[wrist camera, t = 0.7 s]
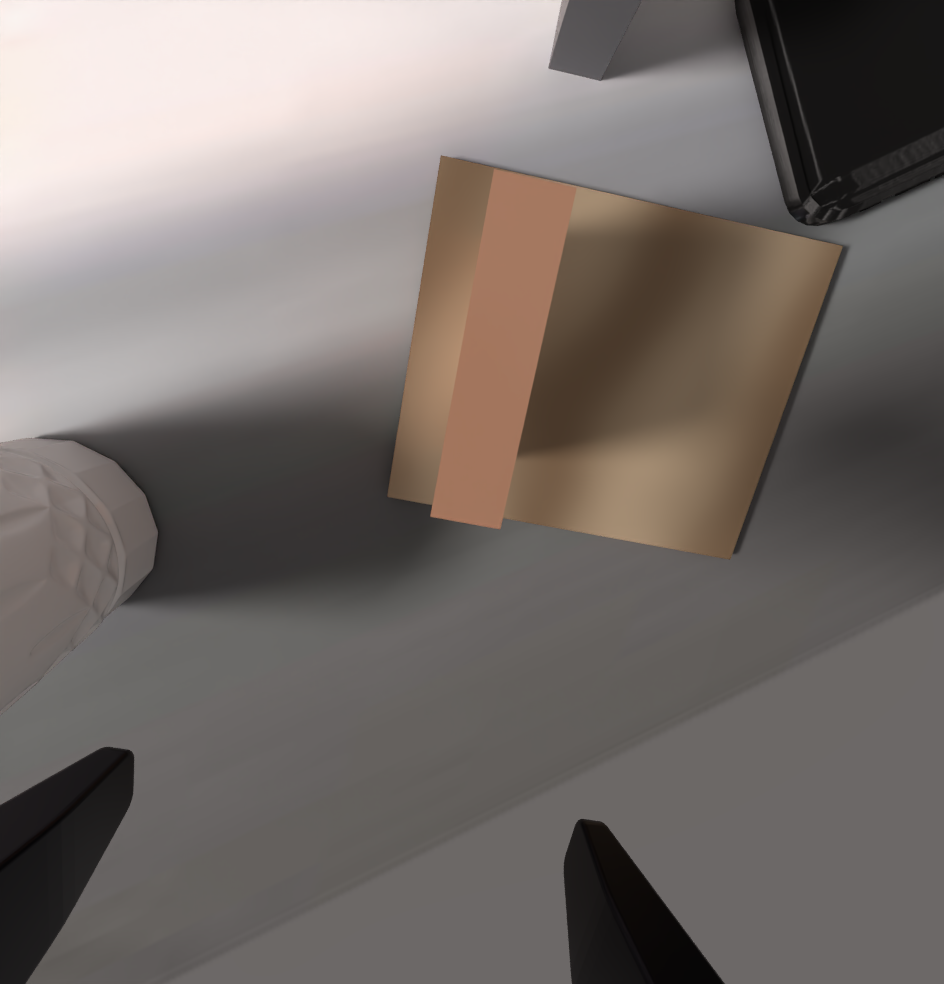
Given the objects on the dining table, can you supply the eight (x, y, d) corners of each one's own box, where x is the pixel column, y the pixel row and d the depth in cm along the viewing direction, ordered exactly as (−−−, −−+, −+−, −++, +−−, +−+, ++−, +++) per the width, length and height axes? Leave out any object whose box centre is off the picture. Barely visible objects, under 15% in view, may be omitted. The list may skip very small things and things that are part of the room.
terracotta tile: (533, 249, 17) (578, 187, 10) (489, 460, 19) (501, 529, 12) (482, 238, 17) (494, 168, 10) (443, 451, 18) (430, 516, 12)
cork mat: (834, 248, 17) (843, 245, 17) (725, 555, 20) (730, 559, 20) (441, 159, 16) (440, 155, 16) (388, 493, 19) (387, 497, 19)
